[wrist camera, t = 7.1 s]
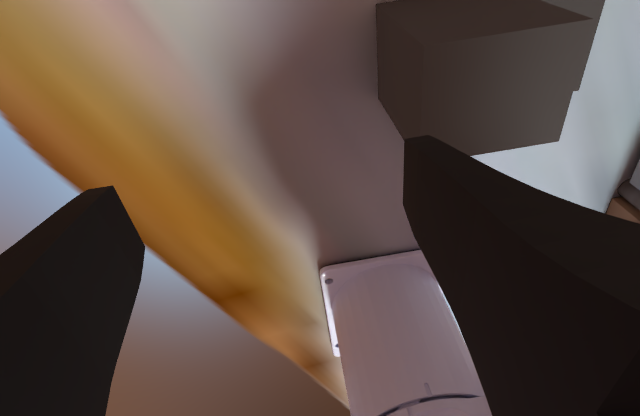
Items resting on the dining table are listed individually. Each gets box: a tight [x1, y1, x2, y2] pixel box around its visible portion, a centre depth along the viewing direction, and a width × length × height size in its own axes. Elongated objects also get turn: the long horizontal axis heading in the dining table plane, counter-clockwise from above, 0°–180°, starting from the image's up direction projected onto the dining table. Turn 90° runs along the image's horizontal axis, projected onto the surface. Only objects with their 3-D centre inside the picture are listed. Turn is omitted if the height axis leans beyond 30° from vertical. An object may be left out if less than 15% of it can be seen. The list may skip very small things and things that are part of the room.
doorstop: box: [376, 0, 605, 156], centre depth 15 cm, size 8×4×6 cm, turn 96°
